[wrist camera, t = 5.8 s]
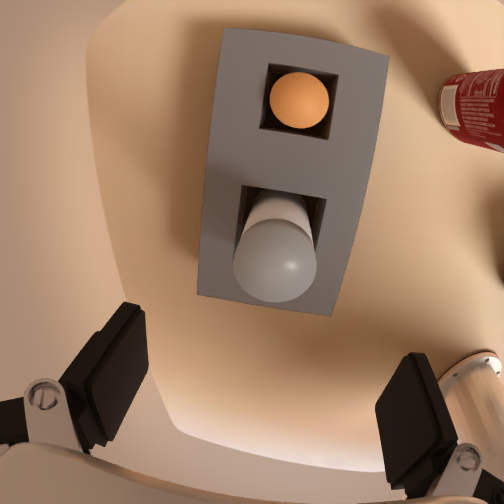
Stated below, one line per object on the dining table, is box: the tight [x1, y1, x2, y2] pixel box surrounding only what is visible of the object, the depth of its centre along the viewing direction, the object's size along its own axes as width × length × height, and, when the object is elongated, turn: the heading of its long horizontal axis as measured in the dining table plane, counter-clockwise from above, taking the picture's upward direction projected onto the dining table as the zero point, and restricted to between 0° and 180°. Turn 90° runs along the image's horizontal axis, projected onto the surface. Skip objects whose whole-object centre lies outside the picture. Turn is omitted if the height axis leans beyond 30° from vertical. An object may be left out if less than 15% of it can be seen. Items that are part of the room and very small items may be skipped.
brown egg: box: [270, 72, 329, 128], centre depth 21 cm, size 4×4×5 cm
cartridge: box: [233, 189, 317, 302], centre depth 24 cm, size 5×5×11 cm
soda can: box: [439, 69, 504, 153], centre depth 17 cm, size 7×7×12 cm
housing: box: [197, 28, 389, 316], centre depth 25 cm, size 22×12×5 cm, turn 172°
